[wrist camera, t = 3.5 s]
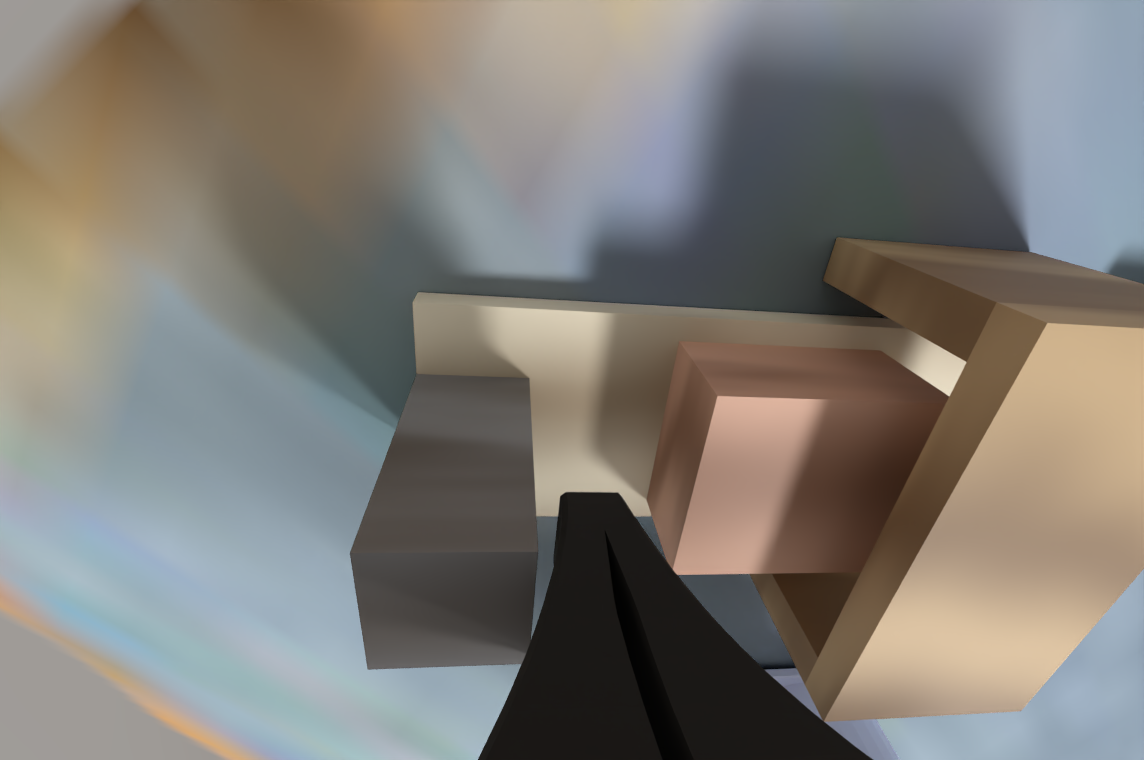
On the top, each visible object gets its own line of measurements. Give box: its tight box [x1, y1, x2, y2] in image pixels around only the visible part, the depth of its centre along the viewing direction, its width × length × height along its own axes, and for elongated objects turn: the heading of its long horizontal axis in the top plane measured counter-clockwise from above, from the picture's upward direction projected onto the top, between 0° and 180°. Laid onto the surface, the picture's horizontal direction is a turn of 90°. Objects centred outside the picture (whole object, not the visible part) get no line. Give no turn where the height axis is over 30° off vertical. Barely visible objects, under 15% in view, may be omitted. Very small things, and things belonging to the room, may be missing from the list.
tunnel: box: [750, 237, 1144, 722], centre depth 14 cm, size 11×6×6 cm, turn 175°
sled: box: [350, 292, 966, 669], centre depth 13 cm, size 7×18×7 cm, turn 85°
